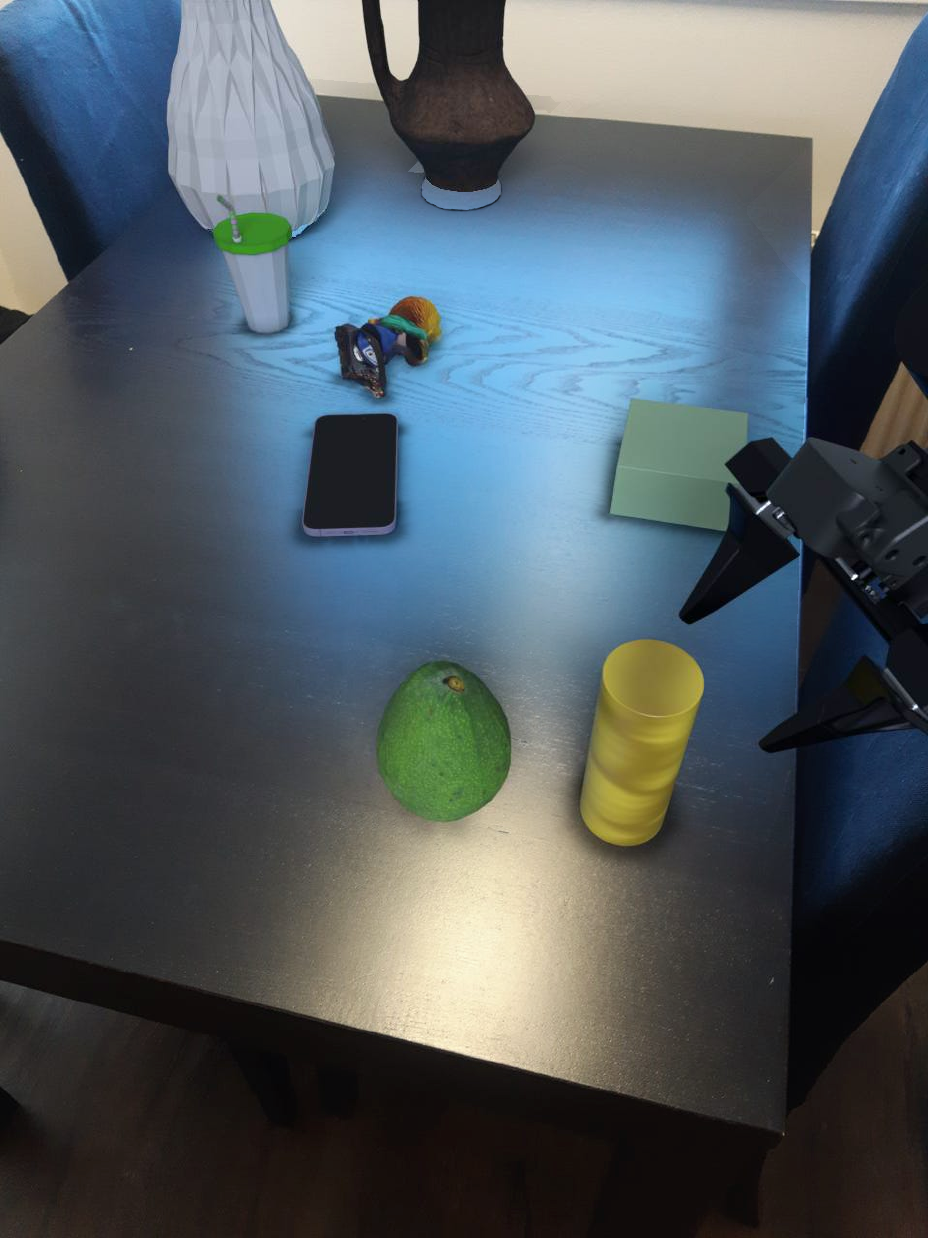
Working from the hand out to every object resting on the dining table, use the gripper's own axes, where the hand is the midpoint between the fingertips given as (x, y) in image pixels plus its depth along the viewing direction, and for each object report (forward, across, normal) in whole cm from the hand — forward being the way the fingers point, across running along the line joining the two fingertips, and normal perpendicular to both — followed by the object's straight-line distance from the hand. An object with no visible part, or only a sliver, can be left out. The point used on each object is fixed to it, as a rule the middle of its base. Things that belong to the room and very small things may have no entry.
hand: (720, 680), depth 47 cm
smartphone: (+18, -37, -2) cm, 41 cm away
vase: (+19, -91, -2) cm, 93 cm away
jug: (0, -95, +16) cm, 96 cm away
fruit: (+18, -4, -2) cm, 19 cm away
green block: (-1, -28, +17) cm, 33 cm away
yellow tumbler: (+11, 0, +5) cm, 12 cm away
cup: (+20, -67, -4) cm, 70 cm away
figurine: (+13, -54, +3) cm, 56 cm away
